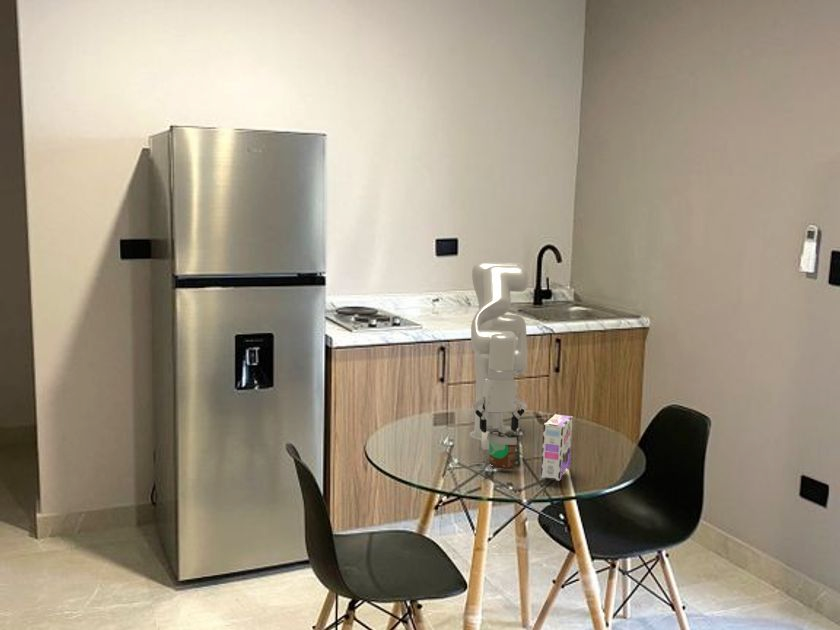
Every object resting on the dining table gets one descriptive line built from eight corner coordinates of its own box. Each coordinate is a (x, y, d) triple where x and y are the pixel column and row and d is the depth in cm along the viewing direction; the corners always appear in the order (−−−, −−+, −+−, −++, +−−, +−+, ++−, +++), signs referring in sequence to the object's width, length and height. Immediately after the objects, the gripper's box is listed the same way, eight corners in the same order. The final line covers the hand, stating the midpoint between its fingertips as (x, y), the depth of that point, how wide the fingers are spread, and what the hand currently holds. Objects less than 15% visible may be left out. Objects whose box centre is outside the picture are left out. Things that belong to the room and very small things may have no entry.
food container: (478, 460, 264) (479, 429, 263) (496, 458, 267) (497, 427, 266) (497, 472, 253) (499, 439, 252) (515, 470, 256) (517, 437, 254)
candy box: (559, 481, 247) (562, 425, 244) (540, 478, 249) (542, 423, 247) (570, 468, 259) (573, 415, 257) (551, 465, 261) (554, 413, 259)
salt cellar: (492, 446, 281) (493, 424, 280) (496, 450, 276) (497, 428, 276) (479, 446, 280) (480, 425, 279) (483, 450, 275) (484, 428, 275)
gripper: (523, 372, 262) (521, 427, 264) (469, 373, 258) (467, 429, 259) (532, 377, 255) (530, 433, 256) (477, 377, 251) (475, 435, 252)
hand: (498, 431), depth 258 cm, fingers open, 9 cm apart
